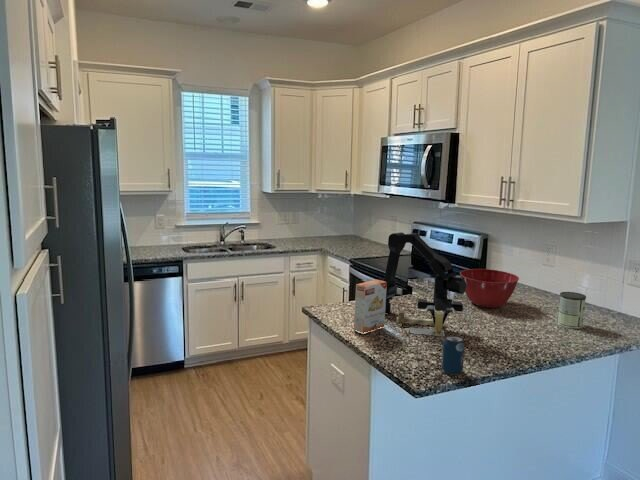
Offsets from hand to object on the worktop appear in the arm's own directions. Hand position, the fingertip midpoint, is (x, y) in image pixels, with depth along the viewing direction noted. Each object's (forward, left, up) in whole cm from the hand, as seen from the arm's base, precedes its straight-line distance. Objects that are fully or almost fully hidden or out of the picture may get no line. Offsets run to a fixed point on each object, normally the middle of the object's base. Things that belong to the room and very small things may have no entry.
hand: (438, 324), depth 200 cm
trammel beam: (-8, 0, -2) cm, 8 cm away
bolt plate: (-8, -6, -2) cm, 10 cm away
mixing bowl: (+27, +45, -2) cm, 53 cm away
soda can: (+2, -43, -2) cm, 43 cm away
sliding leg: (0, 0, -2) cm, 2 cm away
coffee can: (+59, +20, -2) cm, 63 cm away
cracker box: (-29, -9, -2) cm, 30 cm away
